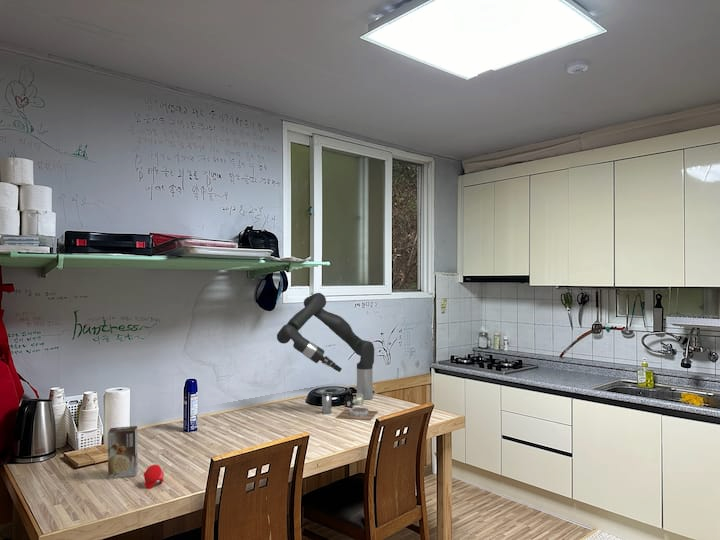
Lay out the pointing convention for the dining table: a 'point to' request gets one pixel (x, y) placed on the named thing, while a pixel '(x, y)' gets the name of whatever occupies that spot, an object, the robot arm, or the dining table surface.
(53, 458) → the dining table surface
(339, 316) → the robot arm
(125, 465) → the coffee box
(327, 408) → the cylinder
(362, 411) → the ring
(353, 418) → the board
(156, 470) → the cap
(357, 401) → the valve
